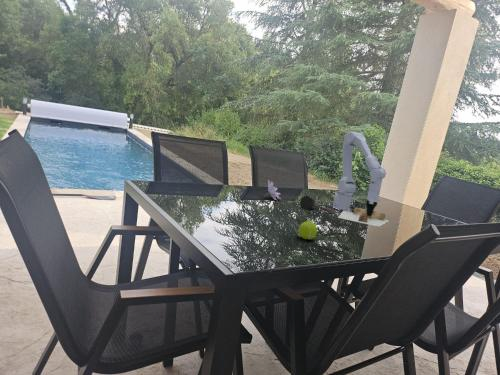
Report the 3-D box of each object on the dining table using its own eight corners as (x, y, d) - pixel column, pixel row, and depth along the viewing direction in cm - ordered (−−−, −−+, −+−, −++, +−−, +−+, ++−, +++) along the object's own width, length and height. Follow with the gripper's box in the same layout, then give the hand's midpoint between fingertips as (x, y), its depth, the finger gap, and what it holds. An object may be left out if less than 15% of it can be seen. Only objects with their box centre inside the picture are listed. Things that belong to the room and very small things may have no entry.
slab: (337, 218, 192) (337, 217, 192) (343, 211, 212) (343, 210, 212) (387, 229, 184) (387, 228, 184) (388, 221, 204) (388, 220, 204)
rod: (353, 214, 206) (354, 208, 205) (354, 213, 209) (355, 207, 208) (384, 220, 201) (385, 214, 200) (384, 219, 204) (385, 213, 203)
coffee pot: (297, 206, 205) (302, 207, 212) (328, 219, 197) (332, 219, 204) (302, 193, 204) (307, 194, 212) (333, 205, 196) (337, 206, 204)
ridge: (358, 220, 191) (359, 215, 191) (359, 217, 199) (361, 212, 198) (366, 222, 190) (367, 216, 189) (367, 219, 197) (368, 214, 197)
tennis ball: (303, 235, 153) (306, 218, 152) (318, 240, 149) (321, 223, 148) (294, 237, 148) (297, 220, 146) (309, 243, 143) (312, 225, 142)
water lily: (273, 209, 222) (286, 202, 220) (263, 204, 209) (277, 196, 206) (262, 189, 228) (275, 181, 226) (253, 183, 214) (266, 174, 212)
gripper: (381, 193, 194) (376, 219, 197) (382, 190, 208) (377, 214, 210) (367, 190, 197) (362, 216, 199) (369, 187, 210) (364, 211, 212)
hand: (369, 215), depth 205 cm, fingers closed on rod, 3 cm apart
